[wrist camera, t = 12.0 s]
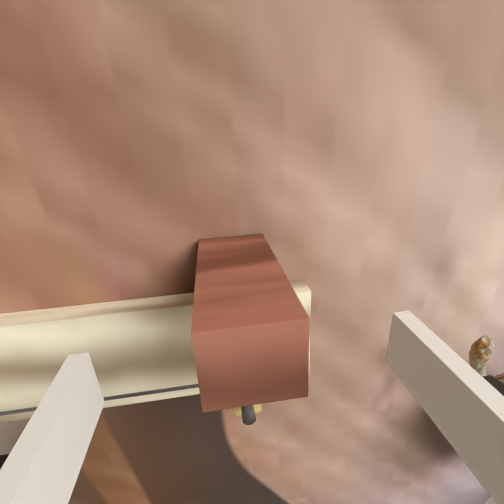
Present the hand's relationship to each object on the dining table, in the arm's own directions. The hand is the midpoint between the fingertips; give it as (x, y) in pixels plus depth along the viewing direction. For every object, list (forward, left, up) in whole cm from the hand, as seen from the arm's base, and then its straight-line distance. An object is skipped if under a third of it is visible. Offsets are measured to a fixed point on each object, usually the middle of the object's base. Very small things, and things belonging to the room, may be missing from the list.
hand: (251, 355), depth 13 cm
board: (+8, -9, -12) cm, 17 cm away
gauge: (+6, 0, -12) cm, 13 cm away
